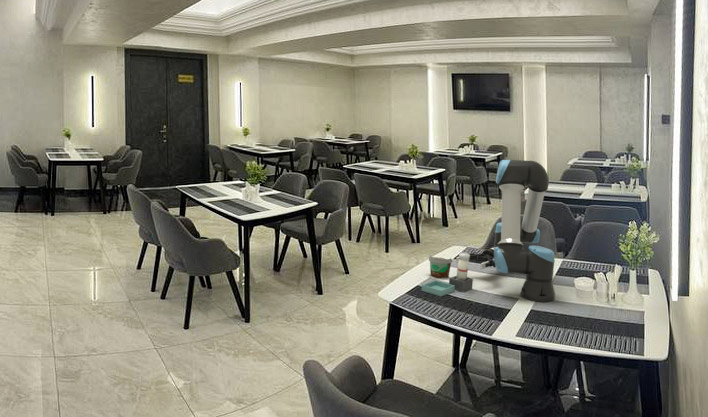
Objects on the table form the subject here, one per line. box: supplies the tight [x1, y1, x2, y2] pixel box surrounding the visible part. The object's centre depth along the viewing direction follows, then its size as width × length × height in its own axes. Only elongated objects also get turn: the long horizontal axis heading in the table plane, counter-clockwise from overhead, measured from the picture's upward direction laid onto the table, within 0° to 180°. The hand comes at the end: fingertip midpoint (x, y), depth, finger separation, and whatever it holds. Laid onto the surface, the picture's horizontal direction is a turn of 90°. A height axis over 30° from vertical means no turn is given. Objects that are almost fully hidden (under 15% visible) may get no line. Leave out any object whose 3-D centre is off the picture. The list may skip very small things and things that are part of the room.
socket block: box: [448, 275, 474, 293], centre depth 280 cm, size 8×8×5 cm
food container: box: [428, 254, 453, 279], centre depth 296 cm, size 12×6×10 cm, turn 62°
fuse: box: [456, 252, 470, 281], centre depth 278 cm, size 5×5×15 cm
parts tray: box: [421, 279, 456, 297], centre depth 275 cm, size 11×11×3 cm
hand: (468, 263), depth 283 cm, fingers open, 13 cm apart
